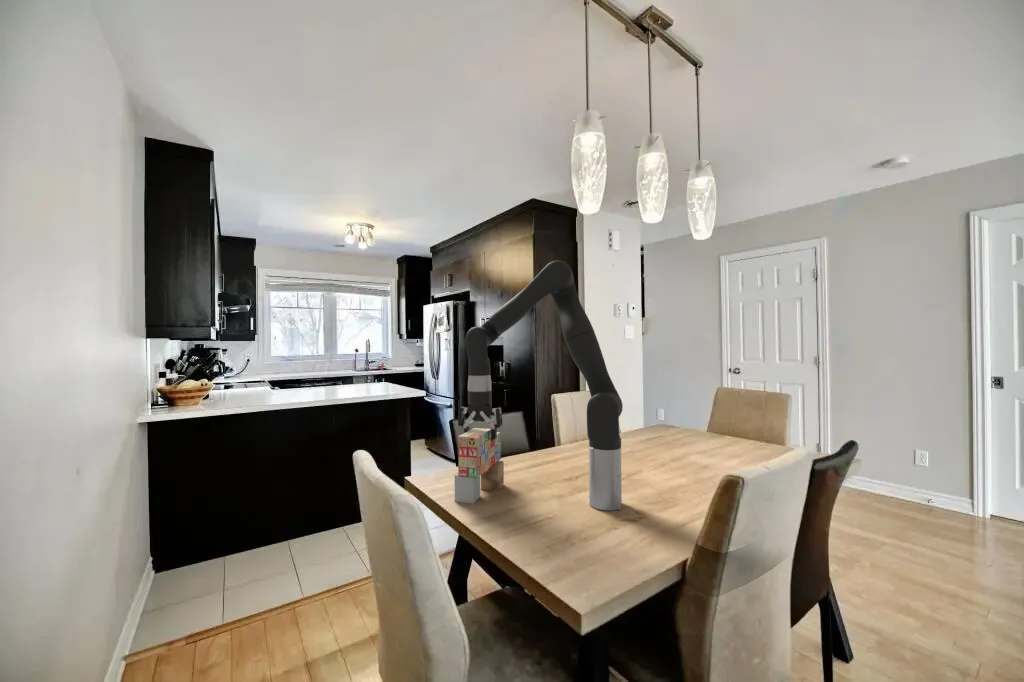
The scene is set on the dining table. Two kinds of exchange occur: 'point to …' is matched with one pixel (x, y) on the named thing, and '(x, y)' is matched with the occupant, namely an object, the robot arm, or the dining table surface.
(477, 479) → the grey rectangular block
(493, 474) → the brown wooden block
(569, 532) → the dining table surface
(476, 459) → the stack of blocks
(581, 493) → the dining table surface
